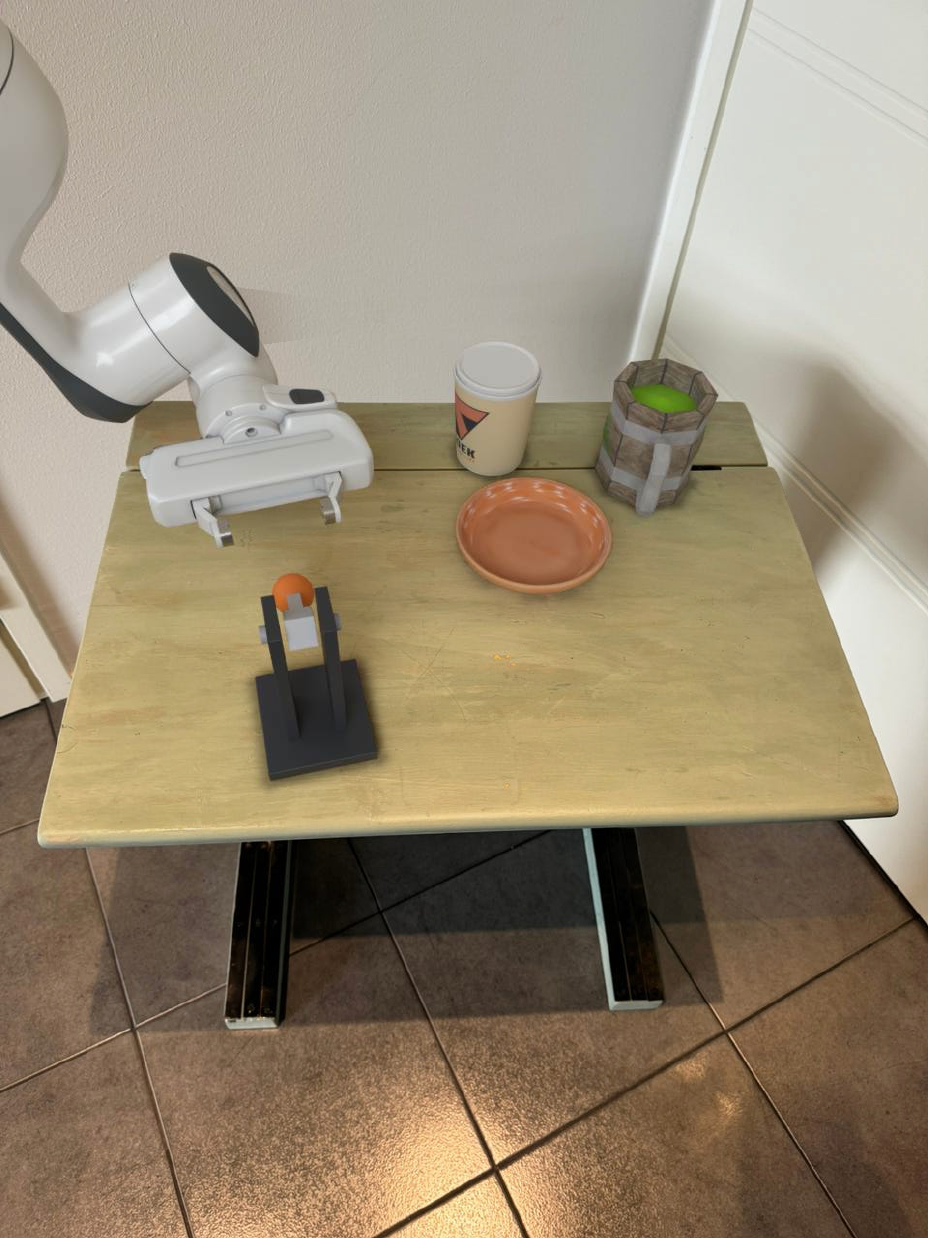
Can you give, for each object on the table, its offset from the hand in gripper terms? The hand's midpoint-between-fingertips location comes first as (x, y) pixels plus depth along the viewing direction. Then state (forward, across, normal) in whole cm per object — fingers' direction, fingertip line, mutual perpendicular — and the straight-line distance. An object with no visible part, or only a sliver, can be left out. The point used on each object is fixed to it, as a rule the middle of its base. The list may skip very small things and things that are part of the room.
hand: (279, 530), depth 72 cm
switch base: (+13, -1, +11) cm, 17 cm away
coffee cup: (-16, +27, +11) cm, 33 cm away
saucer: (-1, +25, +11) cm, 28 cm away
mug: (-5, +41, +11) cm, 43 cm away
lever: (+10, -1, +2) cm, 10 cm away
